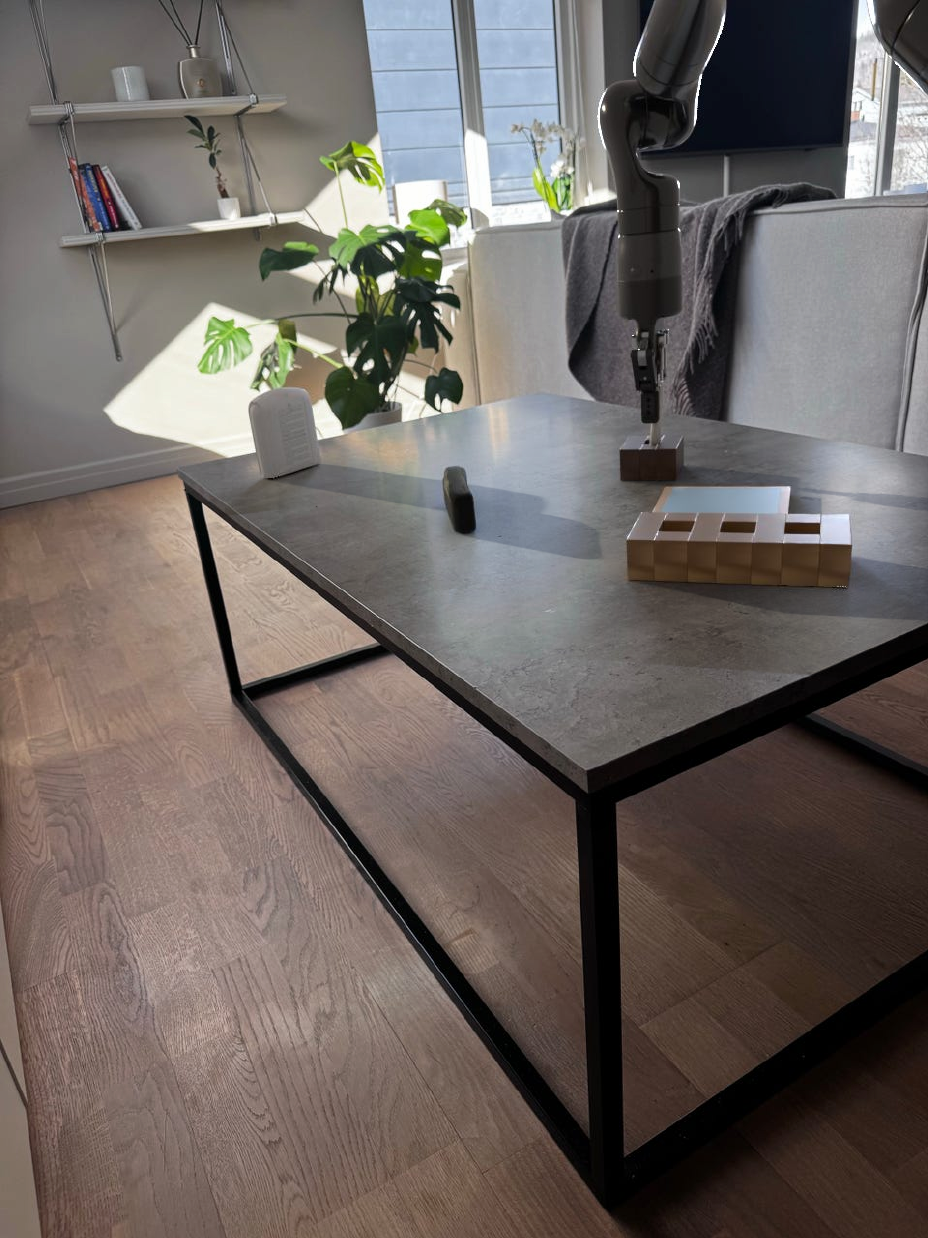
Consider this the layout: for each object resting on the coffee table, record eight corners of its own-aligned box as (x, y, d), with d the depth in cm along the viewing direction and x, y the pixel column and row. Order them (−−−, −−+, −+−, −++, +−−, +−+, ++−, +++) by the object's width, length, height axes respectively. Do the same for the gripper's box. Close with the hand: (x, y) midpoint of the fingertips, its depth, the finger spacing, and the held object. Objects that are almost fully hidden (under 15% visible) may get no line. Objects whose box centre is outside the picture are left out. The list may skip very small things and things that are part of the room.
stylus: (658, 471, 114) (665, 379, 109) (656, 474, 113) (664, 381, 108) (648, 470, 115) (655, 379, 110) (646, 473, 114) (653, 381, 108)
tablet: (790, 493, 100) (790, 485, 100) (784, 549, 85) (785, 539, 85) (665, 493, 105) (665, 485, 105) (638, 546, 90) (638, 536, 90)
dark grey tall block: (476, 492, 97) (460, 456, 111) (449, 495, 97) (436, 460, 110) (480, 534, 99) (464, 494, 113) (454, 538, 99) (441, 498, 113)
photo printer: (308, 460, 140) (294, 381, 135) (326, 463, 137) (312, 382, 132) (256, 478, 133) (239, 395, 128) (274, 481, 130) (258, 396, 125)
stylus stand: (683, 464, 116) (683, 434, 114) (676, 480, 110) (676, 448, 108) (630, 465, 118) (629, 435, 116) (620, 480, 112) (619, 449, 111)
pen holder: (846, 555, 82) (849, 514, 81) (848, 588, 76) (852, 544, 74) (642, 549, 89) (641, 511, 87) (627, 580, 82) (626, 539, 81)
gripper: (673, 276, 97) (674, 433, 104) (689, 266, 108) (689, 408, 116) (605, 282, 100) (611, 434, 107) (628, 271, 111) (631, 409, 118)
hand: (651, 420), depth 111 cm, fingers closed on stylus, 1 cm apart
